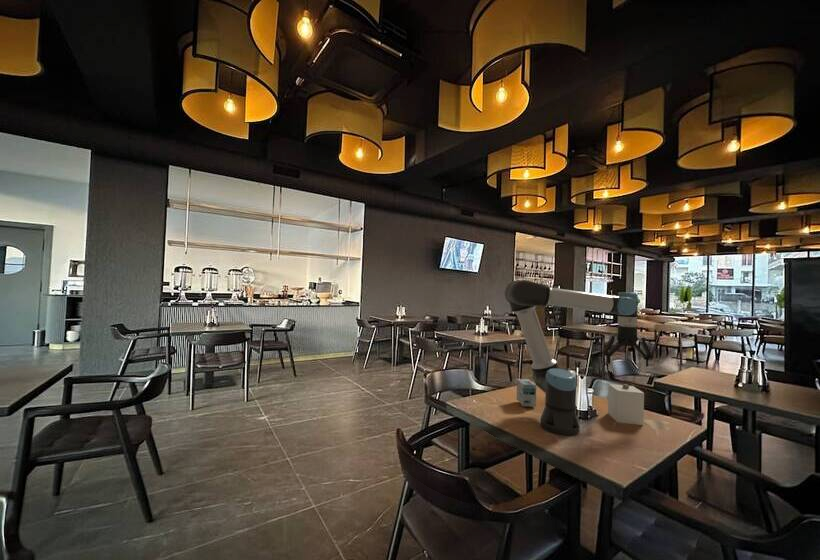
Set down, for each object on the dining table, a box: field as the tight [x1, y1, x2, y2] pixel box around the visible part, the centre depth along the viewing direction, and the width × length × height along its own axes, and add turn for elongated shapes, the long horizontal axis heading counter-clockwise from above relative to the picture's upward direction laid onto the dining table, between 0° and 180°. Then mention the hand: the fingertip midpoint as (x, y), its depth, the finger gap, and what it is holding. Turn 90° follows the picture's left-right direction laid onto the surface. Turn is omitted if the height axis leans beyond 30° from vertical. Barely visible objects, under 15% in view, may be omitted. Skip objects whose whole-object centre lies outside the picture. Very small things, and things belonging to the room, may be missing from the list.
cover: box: [607, 383, 645, 426], centre depth 148 cm, size 10×10×16 cm
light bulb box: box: [516, 378, 537, 408], centre depth 164 cm, size 11×7×11 cm, turn 179°
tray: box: [643, 418, 670, 431], centre depth 142 cm, size 11×11×1 cm
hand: (626, 372), depth 148 cm, fingers open, 13 cm apart
